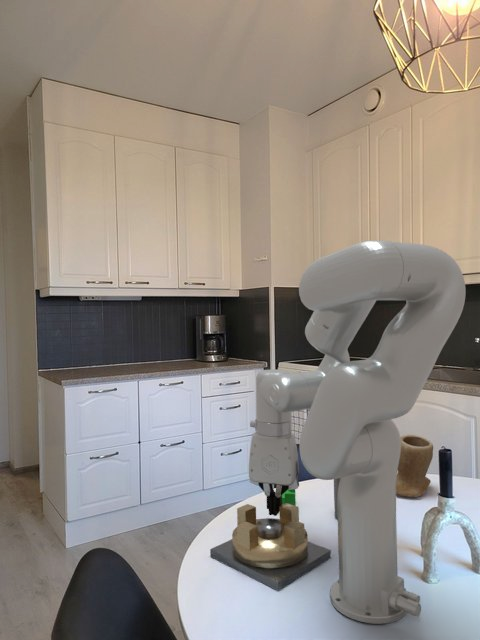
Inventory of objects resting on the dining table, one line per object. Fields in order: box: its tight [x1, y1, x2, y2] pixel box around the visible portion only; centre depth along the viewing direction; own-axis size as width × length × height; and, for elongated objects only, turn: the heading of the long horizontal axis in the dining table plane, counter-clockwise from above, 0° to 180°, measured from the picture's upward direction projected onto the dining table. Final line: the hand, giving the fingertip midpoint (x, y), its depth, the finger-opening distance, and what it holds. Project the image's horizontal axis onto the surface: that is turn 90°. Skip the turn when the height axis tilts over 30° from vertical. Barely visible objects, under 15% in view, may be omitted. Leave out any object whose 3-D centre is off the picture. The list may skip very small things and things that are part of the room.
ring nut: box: [231, 503, 309, 568], centre depth 95 cm, size 15×15×7 cm
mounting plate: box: [209, 539, 332, 592], centre depth 95 cm, size 18×16×2 cm
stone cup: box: [396, 434, 434, 498], centre depth 130 cm, size 15×12×15 cm
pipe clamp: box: [282, 489, 297, 506], centre depth 121 cm, size 11×4×5 cm, turn 174°
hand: (274, 512), depth 102 cm, fingers closed
